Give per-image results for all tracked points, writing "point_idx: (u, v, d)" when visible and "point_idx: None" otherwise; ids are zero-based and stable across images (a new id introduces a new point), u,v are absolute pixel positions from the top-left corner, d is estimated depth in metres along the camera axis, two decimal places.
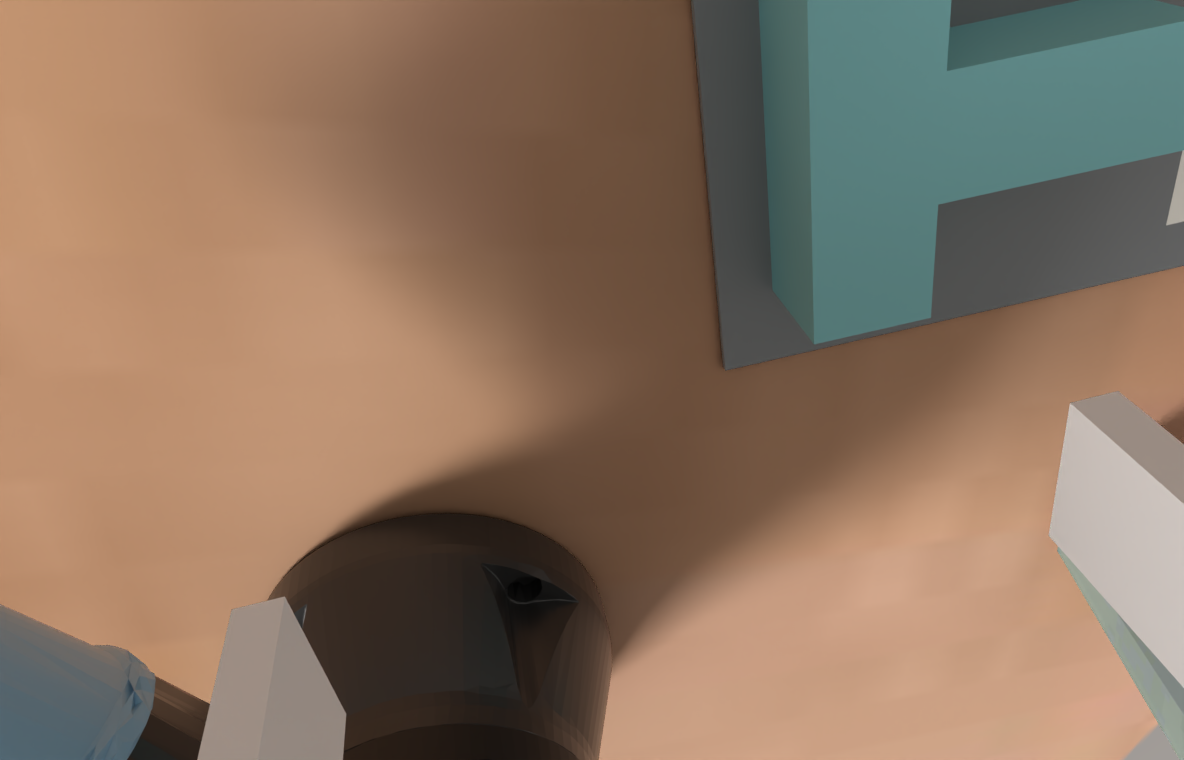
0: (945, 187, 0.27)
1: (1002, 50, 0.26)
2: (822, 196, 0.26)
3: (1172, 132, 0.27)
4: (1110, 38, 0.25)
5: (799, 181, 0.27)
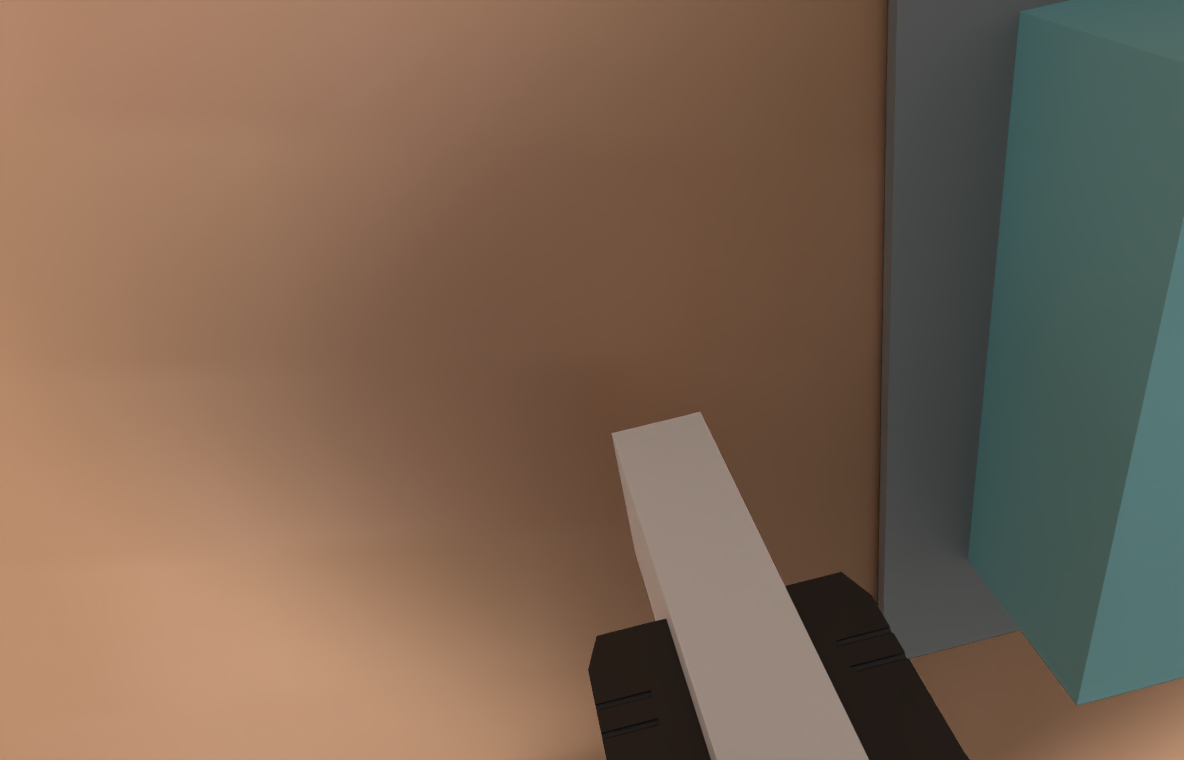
0: None
1: None
2: (1140, 504, 0.14)
3: None
4: None
5: (1084, 464, 0.15)
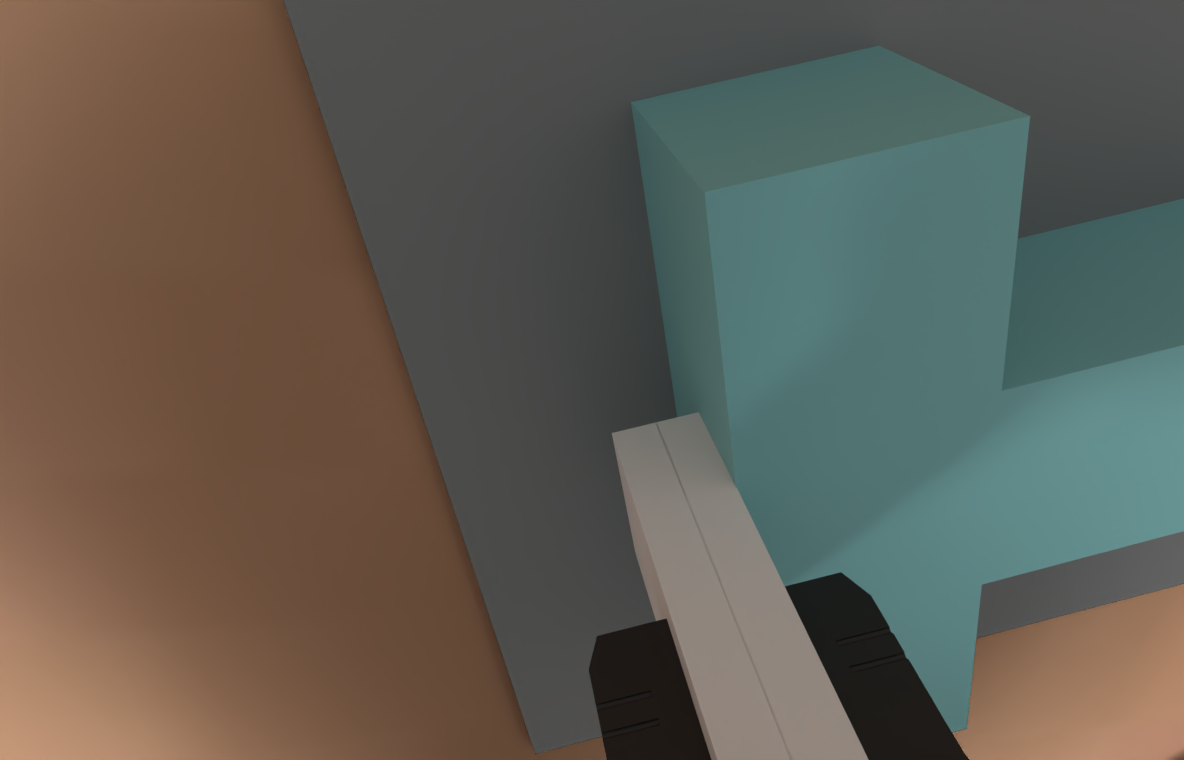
0: (996, 559, 0.15)
1: (1104, 331, 0.13)
2: None
3: None
4: None
5: None
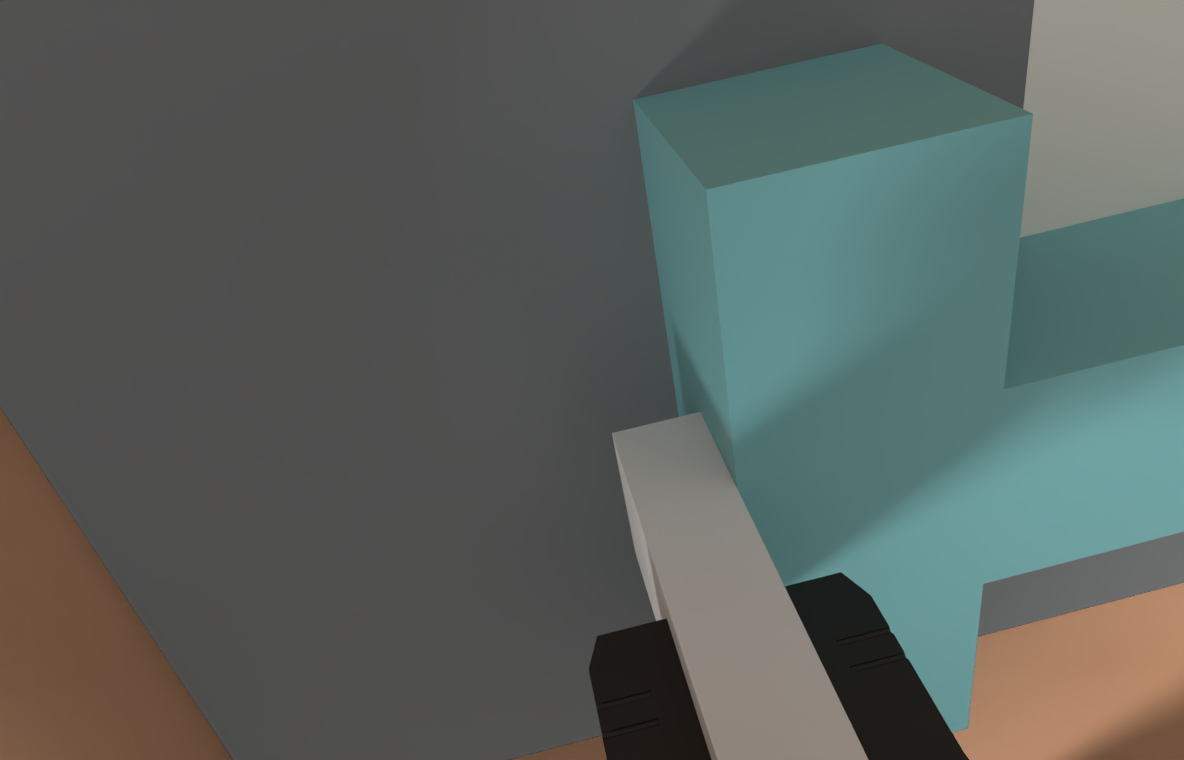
0: (997, 559, 0.15)
1: (1106, 330, 0.13)
2: None
3: None
4: None
5: None
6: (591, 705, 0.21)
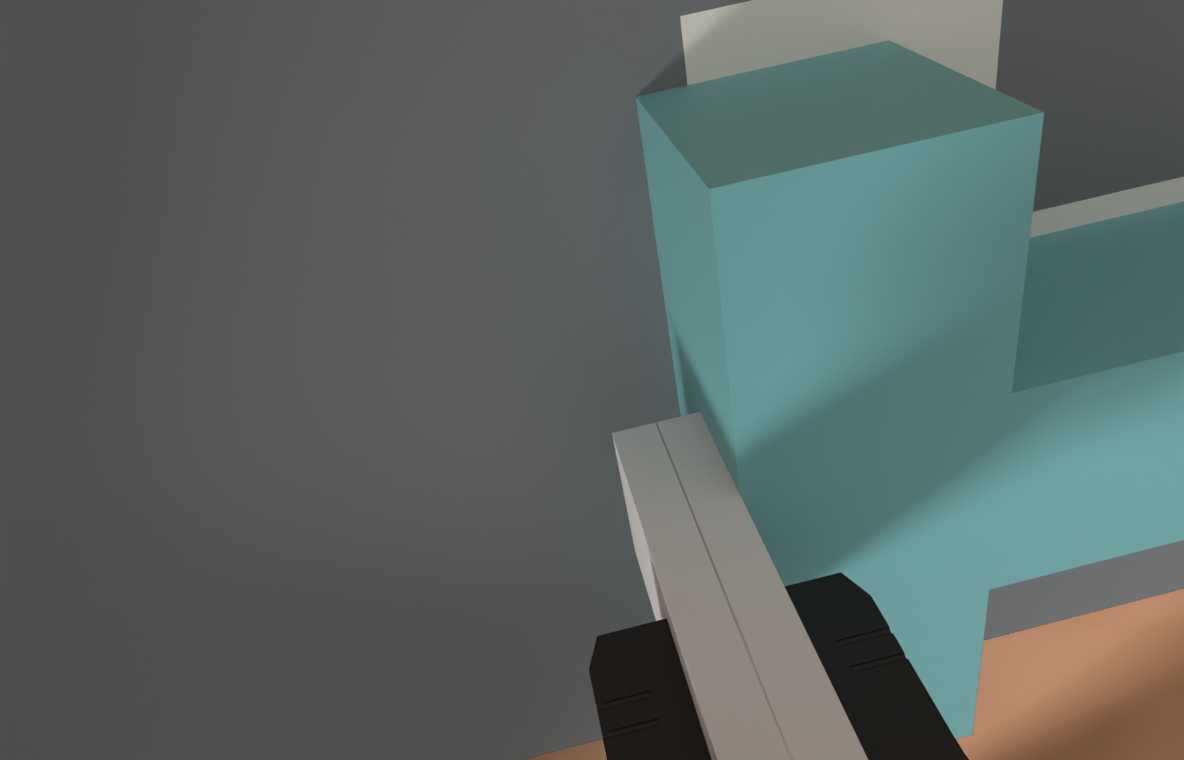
0: (1003, 564, 0.14)
1: (1116, 333, 0.13)
2: None
3: None
4: None
5: None
6: None
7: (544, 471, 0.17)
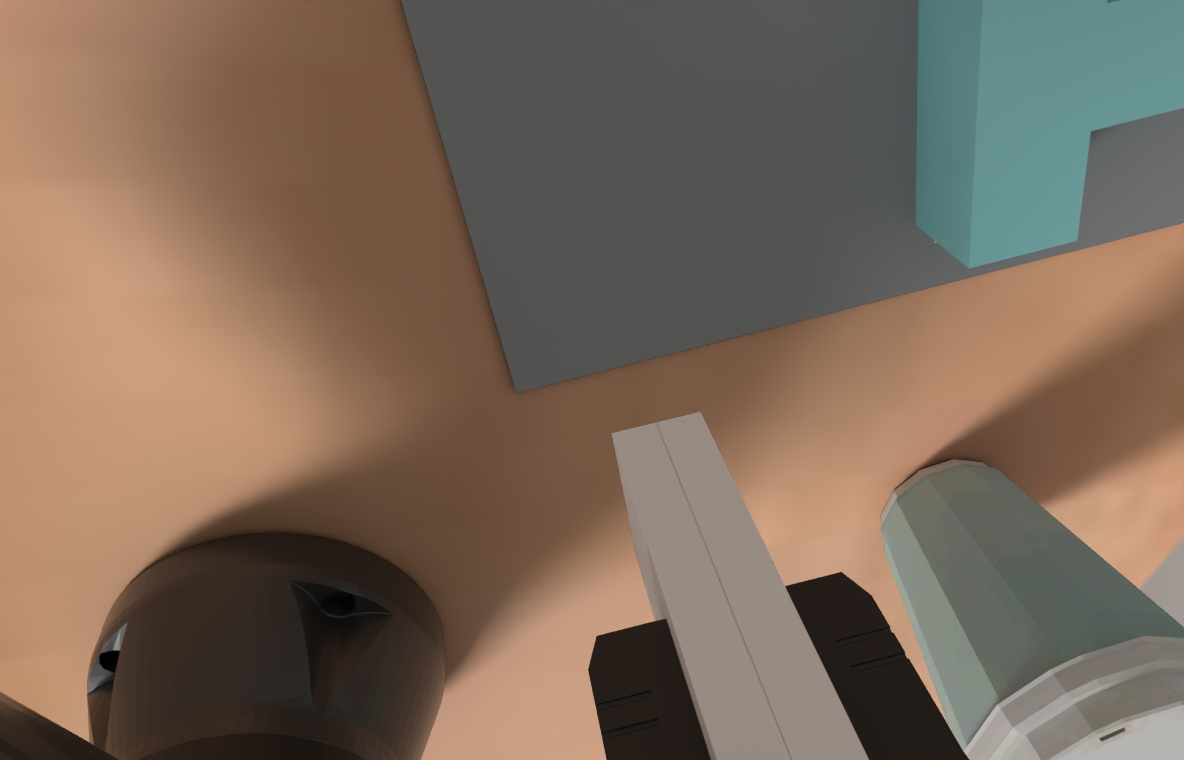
0: (1098, 114, 0.29)
1: None
2: (986, 126, 0.28)
3: None
4: None
5: (961, 113, 0.29)
6: (705, 319, 0.35)
7: (843, 104, 0.31)
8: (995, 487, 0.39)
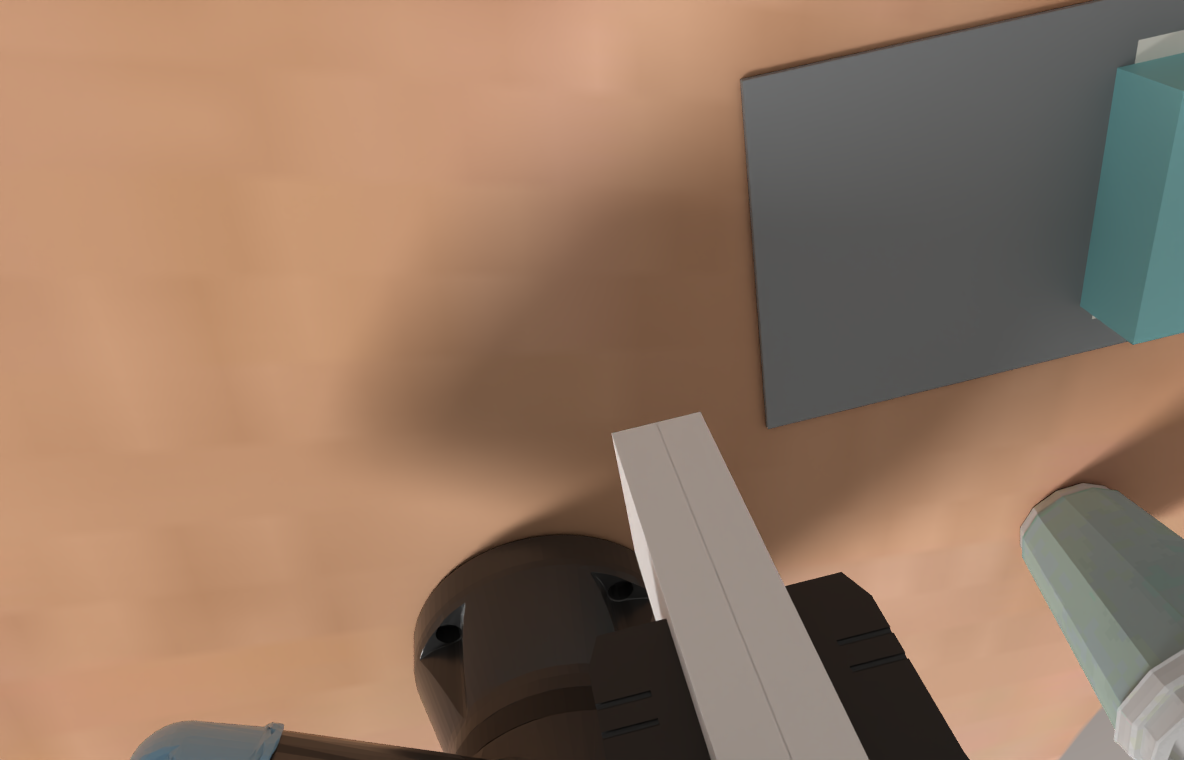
0: None
1: None
2: (1159, 246, 0.39)
3: None
4: None
5: (1138, 235, 0.40)
6: (916, 374, 0.46)
7: (1040, 220, 0.42)
8: (1121, 506, 0.50)
